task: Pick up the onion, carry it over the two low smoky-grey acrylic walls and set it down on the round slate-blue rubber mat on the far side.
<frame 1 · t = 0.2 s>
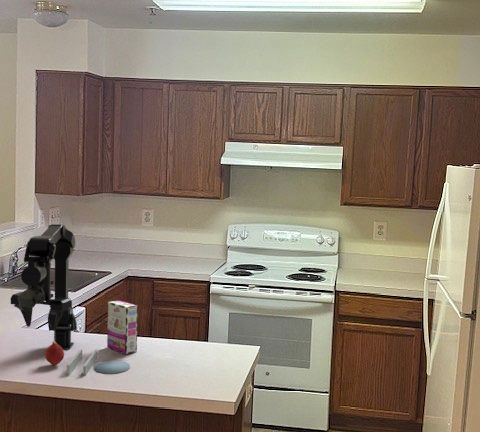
hand: (41, 328, 203), 14 cm above the worktop, tool pointing down, fingers open, 9 cm apart
low walls: (82, 366, 210), on the worktop
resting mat: (112, 367, 210), on the worktop
onion: (54, 366, 210), on the worktop
candy bar box: (122, 350, 229), on the worktop
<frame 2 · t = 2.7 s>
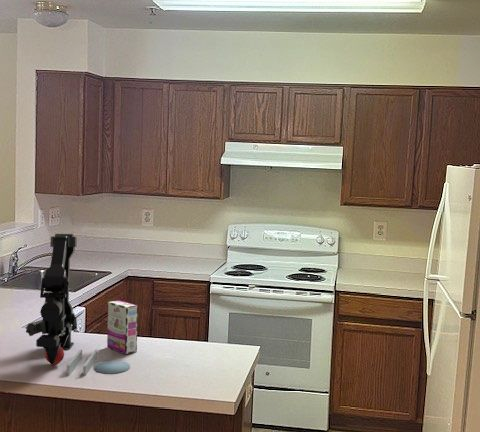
hand: (54, 360, 210), 2 cm above the worktop, tool pointing down, fingers closed on onion, 6 cm apart
onion: (54, 366, 210), on the worktop, touching gripper
everything else where it was.
when the fingers open (3 cm above the worktop, at t = 7.6 s): onion drops 1 cm, resting on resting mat.
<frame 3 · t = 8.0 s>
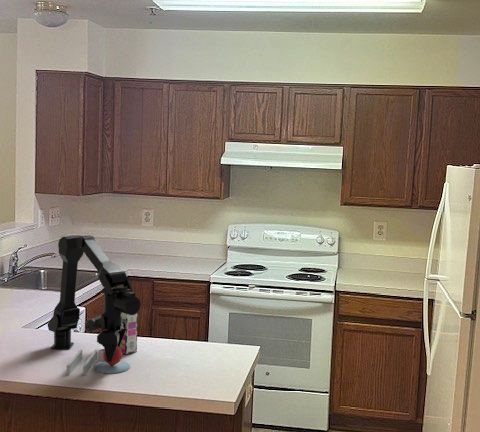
hand: (112, 356, 210), 4 cm above the worktop, tool pointing down, fingers open, 9 cm apart
onion: (112, 366, 210), resting on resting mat
everything else where it was.
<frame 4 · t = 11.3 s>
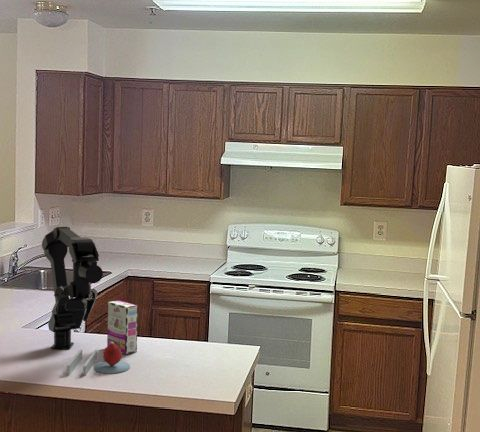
hand: (81, 324, 215), 12 cm above the worktop, tool pointing down, fingers open, 9 cm apart
nothing on the worktop moved.
at the end: onion 0.1 cm off-centre on the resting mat, point 0.3 cm above the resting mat's base; the gripper is holding nothing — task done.
